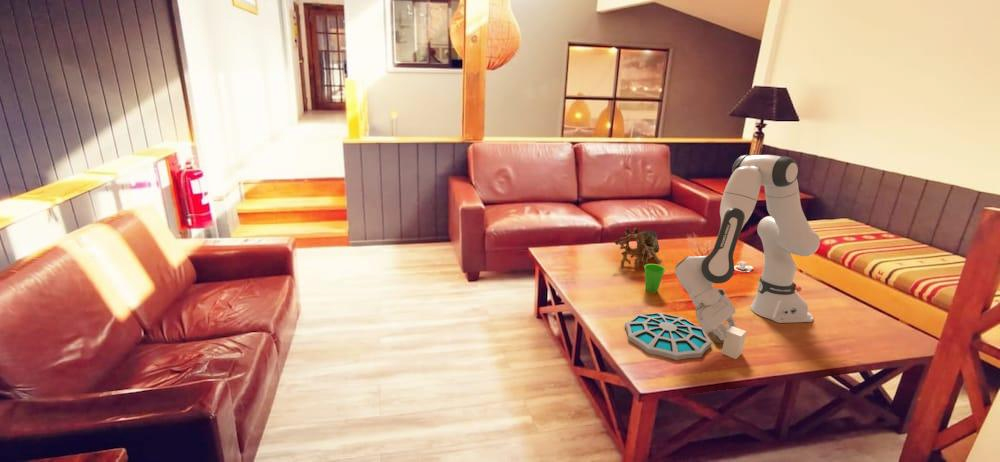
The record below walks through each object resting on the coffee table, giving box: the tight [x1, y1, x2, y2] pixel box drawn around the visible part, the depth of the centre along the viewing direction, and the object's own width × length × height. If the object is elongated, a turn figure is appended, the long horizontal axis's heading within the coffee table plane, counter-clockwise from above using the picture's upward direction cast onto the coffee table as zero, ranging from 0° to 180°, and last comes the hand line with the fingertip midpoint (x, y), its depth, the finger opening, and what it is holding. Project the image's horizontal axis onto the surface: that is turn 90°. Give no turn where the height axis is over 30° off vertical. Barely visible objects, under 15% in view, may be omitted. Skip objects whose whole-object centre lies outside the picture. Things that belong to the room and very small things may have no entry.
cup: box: [643, 263, 666, 294], centre depth 215 cm, size 9×9×11 cm
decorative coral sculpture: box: [614, 227, 663, 269], centre depth 246 cm, size 24×22×29 cm
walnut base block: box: [707, 323, 729, 344], centre depth 179 cm, size 8×8×4 cm
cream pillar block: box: [721, 326, 747, 360], centre depth 169 cm, size 5×5×9 cm
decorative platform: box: [624, 312, 713, 361], centre depth 179 cm, size 31×29×5 cm
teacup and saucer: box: [734, 260, 754, 273], centre depth 241 cm, size 9×8×4 cm
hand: (729, 334), depth 169 cm, fingers open, 8 cm apart
